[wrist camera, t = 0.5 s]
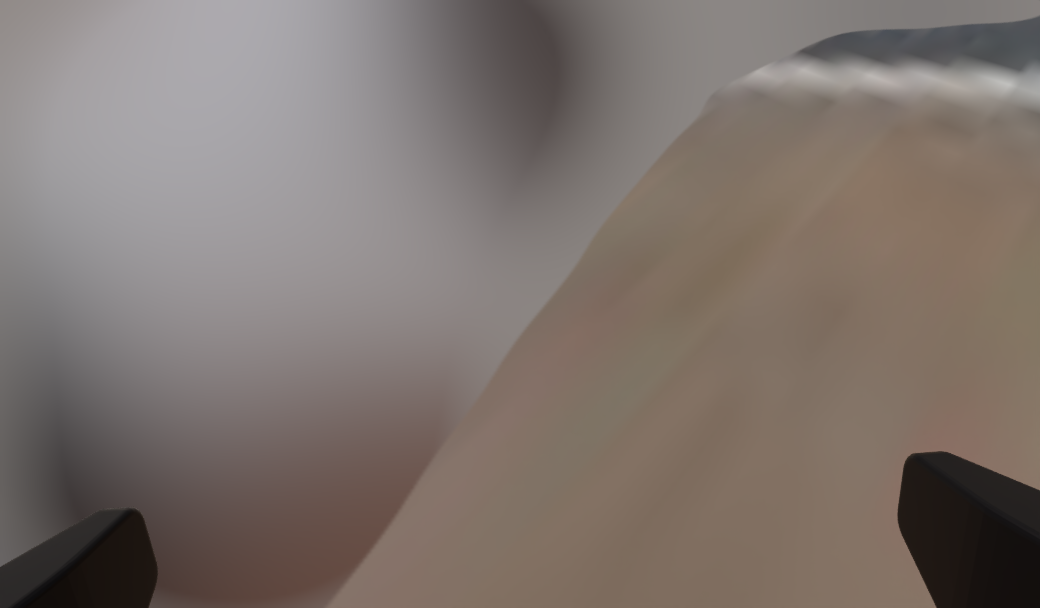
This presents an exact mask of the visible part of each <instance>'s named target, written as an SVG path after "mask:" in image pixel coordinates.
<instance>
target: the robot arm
mask: <svg viewBox="0 0 1040 608" xmlns="http://www.w3.org/2000/svg"><path fill="white" fill-rule="evenodd" d="M897 515H898V524H899V528H900V531H901V534H902V536H903V538H904V540H905V543H906V545H907V547H908V549H909V551H910V553H911V555H912V557H913V559H914V561H915V563H916V566H917V568H918V570H919V572H920V574H921V576H922V578H923V580H924V582H925V584H926V587H927V589H928V591H929V593H930V595H931V597H932V599H933V601H934V603H935V605H936V607H937V608H1040V490H1037V489H1035V488H1033V487H1030V486H1028V485H1025V484H1023V483H1021V482H1018V481H1016V480H1013V479H1011V478H1009V477H1006V476H1004V475H1001V474H999V473H997V472H994V471H992V470H989V469H987V468H985V467H982V466H980V465H977V464H975V463H973V462H970V461H968V460H965V459H963V458H961V457H958V456H956V455H953V454H951V453H948V452H942V451H938V452H925V453H914V454H911V455H910V456H909V457H908V458H907V459H906V461H905V464H904V468H903V475H902V482H901V490H900V497H899V504H898V514H897ZM157 576H158V568H157V562H156V558H155V554H154V551H153V548H152V544H151V541H150V537H149V534H148V531H147V527H146V524H145V520H144V518H143V515H142V514H141V512H140V511H139V510H137V509H136V508H133V507H128V508H114V509H103V510H99V511H97V512H95V513H93V514H92V515H90V516H88V517H87V518H85V519H83V520H81V521H79V522H78V523H76V524H74V525H73V526H71V527H69V528H67V529H65V530H64V531H62V532H60V533H59V534H57V535H55V536H53V537H52V538H50V539H48V540H46V541H45V542H43V543H41V544H39V545H38V546H36V547H34V548H32V549H31V550H29V551H27V552H25V553H24V554H22V555H20V556H19V557H17V558H15V559H13V560H11V561H10V562H8V563H6V564H5V565H3V566H1V567H0V608H149V605H150V602H151V599H152V596H153V593H154V590H155V586H156V583H157Z"/></svg>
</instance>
